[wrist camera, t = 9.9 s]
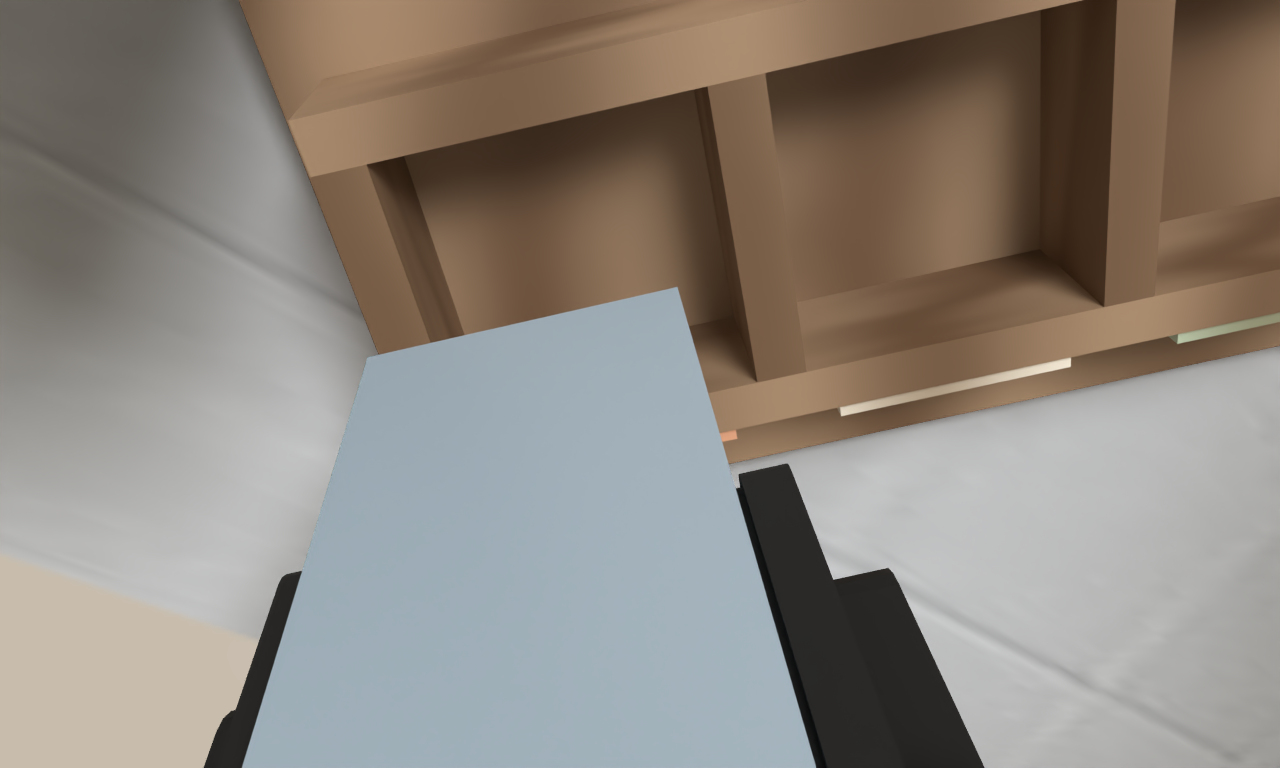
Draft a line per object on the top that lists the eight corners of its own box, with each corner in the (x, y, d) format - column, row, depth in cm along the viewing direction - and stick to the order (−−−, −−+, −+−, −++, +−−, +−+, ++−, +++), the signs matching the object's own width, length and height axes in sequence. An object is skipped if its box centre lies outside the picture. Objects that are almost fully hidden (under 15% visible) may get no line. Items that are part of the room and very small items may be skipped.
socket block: (1518, -393, 18) (1755, -443, 14) (1378, 300, 25) (1513, 380, 21) (224, -82, 18) (148, -57, 15) (449, 500, 26) (433, 608, 22)
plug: (677, 286, 12) (999, 1405, 4) (727, 529, 14) (1007, 1606, 6) (367, 357, 12) (-13, 1599, 4) (461, 588, 14) (350, 1730, 6)
